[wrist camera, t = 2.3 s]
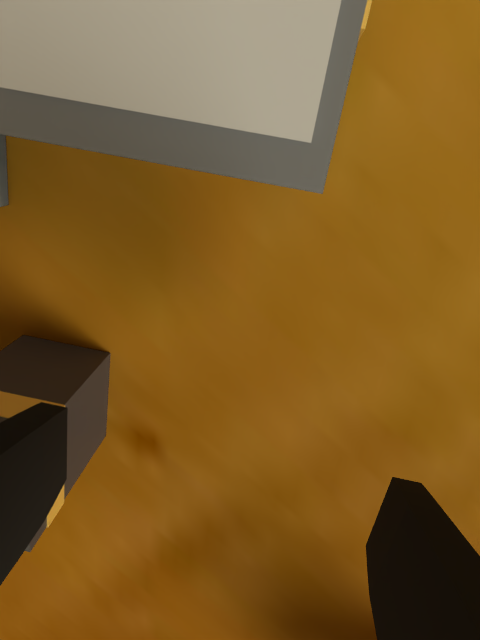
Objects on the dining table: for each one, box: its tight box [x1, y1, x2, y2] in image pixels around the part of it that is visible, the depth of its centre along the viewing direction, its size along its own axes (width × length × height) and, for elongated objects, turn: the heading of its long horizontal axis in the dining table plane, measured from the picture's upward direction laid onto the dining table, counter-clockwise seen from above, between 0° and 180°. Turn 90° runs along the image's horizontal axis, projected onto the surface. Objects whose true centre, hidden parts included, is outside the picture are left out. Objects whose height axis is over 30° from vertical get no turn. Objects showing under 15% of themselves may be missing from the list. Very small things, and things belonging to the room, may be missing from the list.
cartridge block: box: [0, 335, 110, 552], centre depth 17 cm, size 4×5×6 cm
